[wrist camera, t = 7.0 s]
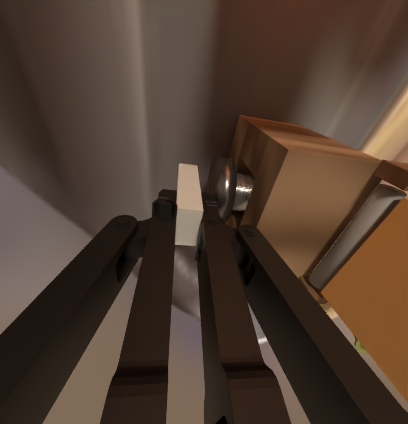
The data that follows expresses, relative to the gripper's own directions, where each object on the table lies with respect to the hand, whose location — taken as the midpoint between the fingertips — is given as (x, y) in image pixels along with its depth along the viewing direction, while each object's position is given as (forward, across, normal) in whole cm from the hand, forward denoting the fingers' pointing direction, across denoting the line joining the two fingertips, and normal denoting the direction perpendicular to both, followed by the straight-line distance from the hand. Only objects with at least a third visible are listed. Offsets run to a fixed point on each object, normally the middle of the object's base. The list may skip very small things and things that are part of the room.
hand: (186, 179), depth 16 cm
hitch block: (+4, +7, 0) cm, 8 cm away
